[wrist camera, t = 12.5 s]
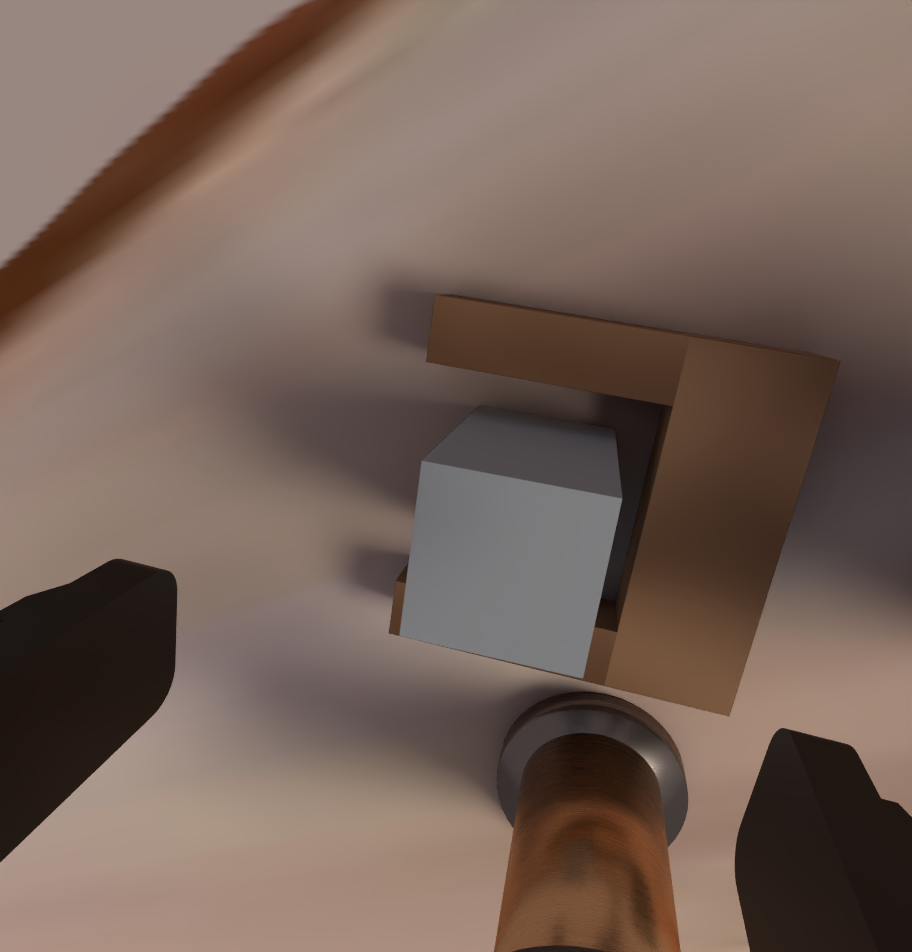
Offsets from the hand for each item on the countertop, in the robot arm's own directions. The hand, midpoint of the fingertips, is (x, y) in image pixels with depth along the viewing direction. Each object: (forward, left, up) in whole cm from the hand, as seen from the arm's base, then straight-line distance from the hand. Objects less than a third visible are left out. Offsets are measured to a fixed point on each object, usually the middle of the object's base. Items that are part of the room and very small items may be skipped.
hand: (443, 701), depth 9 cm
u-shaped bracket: (0, +2, -12) cm, 12 cm away
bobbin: (+10, +4, -12) cm, 16 cm away
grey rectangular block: (0, 0, -12) cm, 12 cm away
